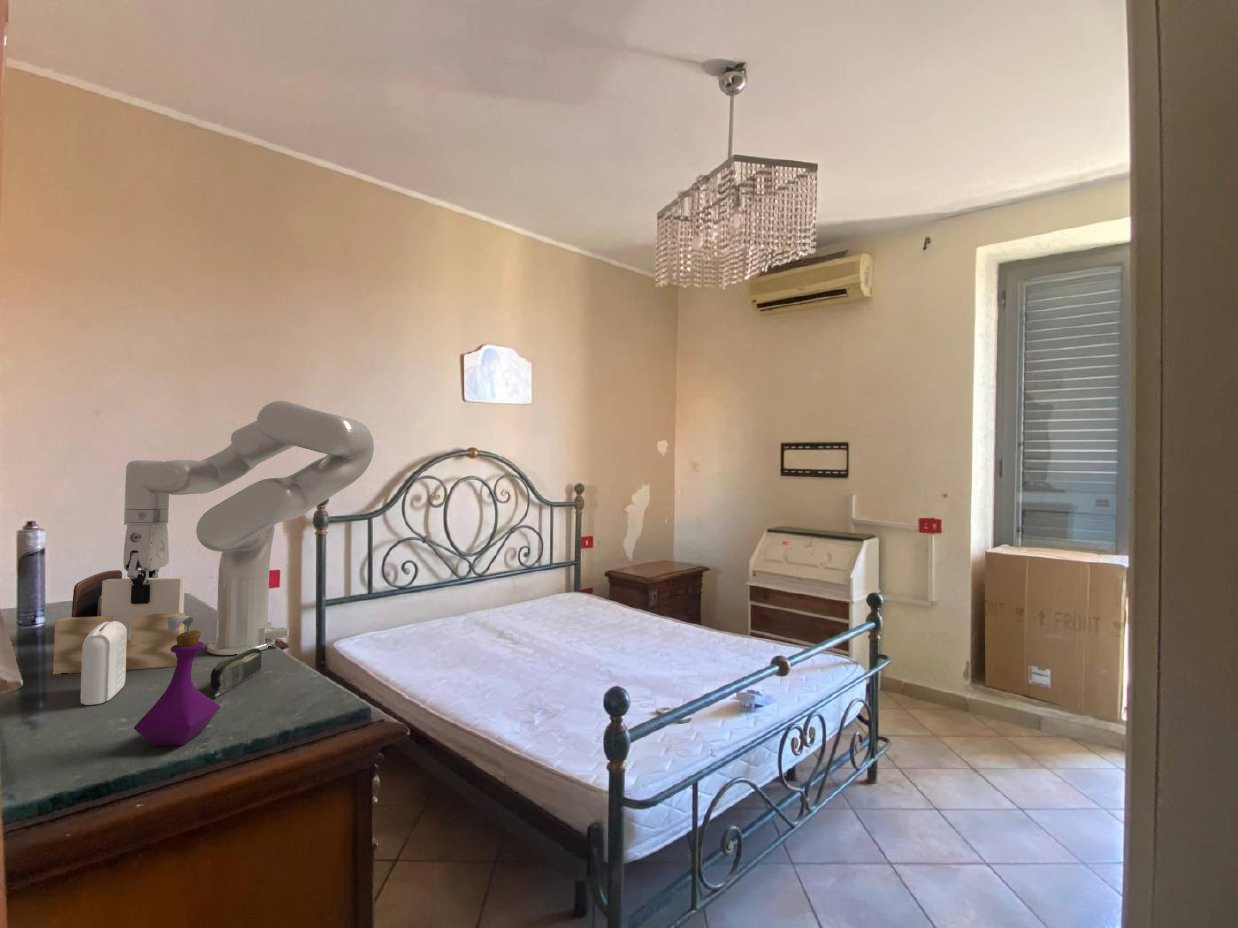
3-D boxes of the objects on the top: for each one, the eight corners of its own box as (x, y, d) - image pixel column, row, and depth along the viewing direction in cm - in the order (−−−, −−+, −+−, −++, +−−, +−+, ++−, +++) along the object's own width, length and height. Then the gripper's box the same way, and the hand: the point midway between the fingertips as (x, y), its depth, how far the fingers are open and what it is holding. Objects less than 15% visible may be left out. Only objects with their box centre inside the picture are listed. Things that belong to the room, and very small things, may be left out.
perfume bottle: (168, 728, 89) (172, 608, 90) (220, 727, 90) (224, 609, 90) (131, 751, 82) (136, 621, 82) (188, 750, 83) (193, 621, 83)
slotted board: (183, 662, 120) (184, 612, 120) (178, 666, 117) (179, 615, 117) (61, 670, 114) (63, 617, 114) (53, 674, 111) (55, 621, 112)
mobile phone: (249, 646, 116) (202, 669, 101) (265, 646, 116) (221, 669, 101) (247, 672, 116) (201, 699, 101) (264, 671, 116) (219, 698, 101)
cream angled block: (182, 644, 132) (184, 576, 132) (177, 647, 129) (180, 578, 129) (106, 648, 127) (108, 579, 128) (99, 652, 125) (102, 581, 125)
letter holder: (69, 643, 131) (71, 580, 131) (116, 622, 150) (118, 566, 150) (123, 641, 134) (125, 578, 134) (162, 619, 153) (164, 565, 153)
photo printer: (98, 686, 106) (100, 617, 106) (128, 683, 107) (130, 615, 108) (75, 707, 96) (78, 631, 97) (109, 703, 98) (112, 629, 98)
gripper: (150, 520, 122) (147, 609, 122) (182, 514, 138) (179, 593, 137) (106, 520, 120) (102, 611, 120) (143, 514, 135) (140, 595, 135)
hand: (143, 601), depth 128 cm, fingers closed on cream angled block, 2 cm apart
